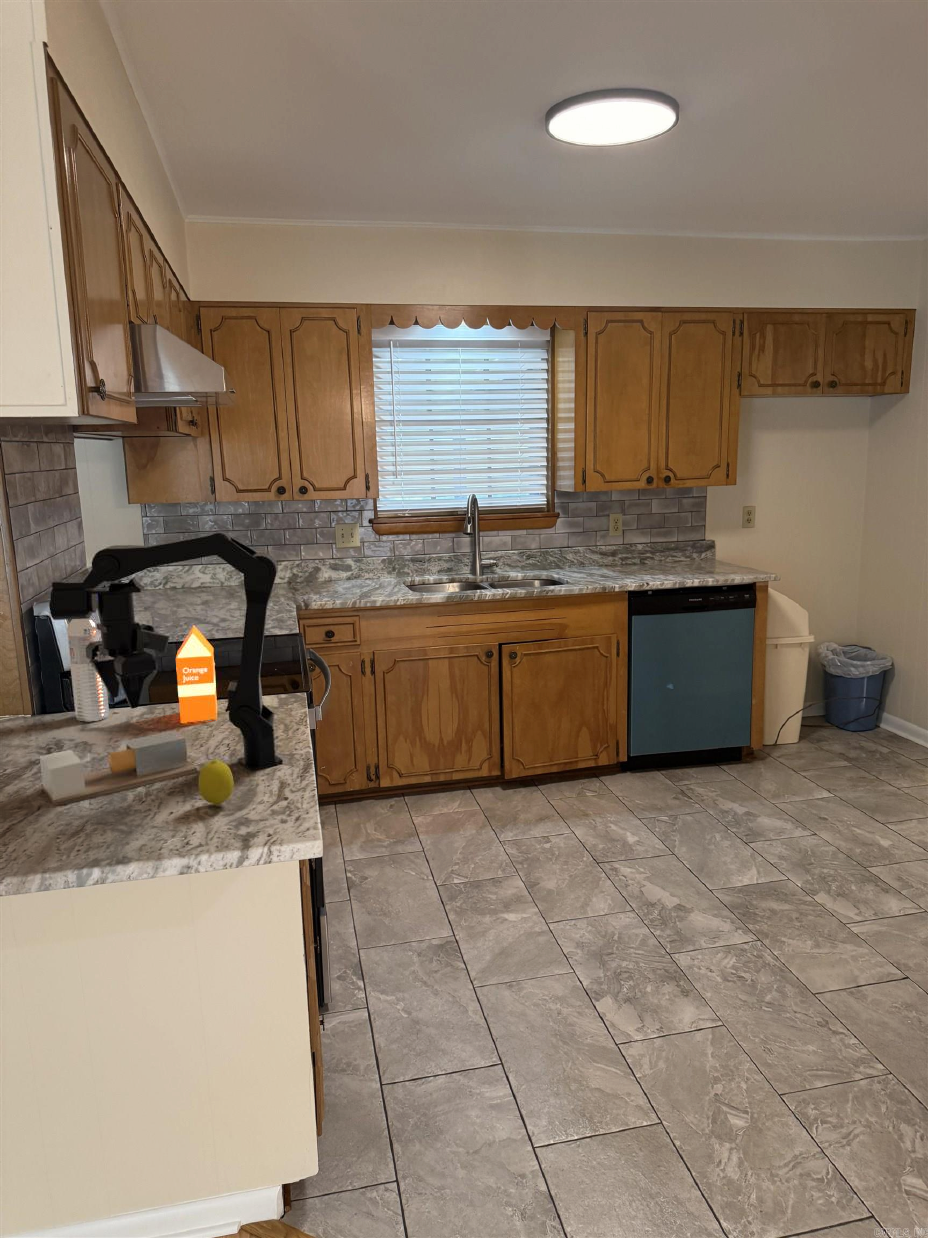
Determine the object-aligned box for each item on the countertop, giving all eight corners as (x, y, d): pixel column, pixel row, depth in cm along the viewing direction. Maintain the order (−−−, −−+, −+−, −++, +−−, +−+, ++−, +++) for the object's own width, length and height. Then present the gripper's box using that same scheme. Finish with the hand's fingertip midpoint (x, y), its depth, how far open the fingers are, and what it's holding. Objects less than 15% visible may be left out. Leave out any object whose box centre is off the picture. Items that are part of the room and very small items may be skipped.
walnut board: (197, 772, 153) (197, 768, 152) (55, 806, 138) (55, 802, 138) (178, 757, 160) (177, 753, 160) (42, 788, 146) (41, 784, 146)
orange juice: (180, 723, 181) (173, 633, 177) (182, 712, 189) (175, 625, 185) (217, 720, 183) (211, 631, 179) (218, 709, 191) (212, 623, 187)
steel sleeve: (187, 765, 153) (185, 737, 152) (137, 777, 148) (134, 748, 147) (176, 757, 158) (174, 730, 157) (127, 768, 152) (125, 740, 151)
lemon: (222, 796, 141) (218, 751, 140) (241, 804, 138) (238, 758, 136) (193, 807, 137) (189, 761, 136) (213, 815, 134) (209, 768, 132)
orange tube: (187, 759, 154) (186, 740, 154) (114, 776, 147) (112, 756, 146) (180, 754, 157) (179, 735, 156) (108, 770, 149) (107, 751, 149)
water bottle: (101, 723, 182) (90, 610, 177) (70, 723, 182) (58, 610, 177) (114, 713, 189) (104, 605, 184) (84, 713, 189) (73, 605, 184)
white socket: (85, 792, 142) (82, 762, 141) (53, 800, 139) (50, 769, 138) (73, 778, 148) (70, 750, 147) (42, 785, 145) (39, 756, 144)
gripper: (183, 618, 146) (189, 704, 149) (141, 605, 159) (148, 684, 162) (119, 627, 138) (127, 717, 141) (81, 612, 152) (88, 695, 155)
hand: (124, 702), depth 150 cm, fingers open, 9 cm apart
